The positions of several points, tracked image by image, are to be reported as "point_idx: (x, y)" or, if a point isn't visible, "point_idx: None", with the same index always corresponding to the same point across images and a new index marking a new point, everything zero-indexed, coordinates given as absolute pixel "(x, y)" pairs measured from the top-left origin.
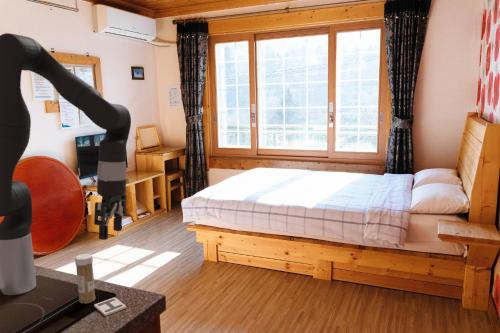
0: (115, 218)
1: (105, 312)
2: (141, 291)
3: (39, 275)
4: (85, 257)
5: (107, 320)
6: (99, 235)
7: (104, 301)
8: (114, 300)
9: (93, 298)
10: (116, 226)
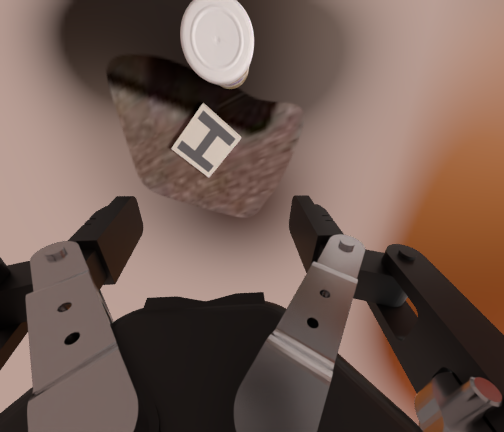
0: (314, 246)
1: (177, 146)
2: (278, 181)
3: None
4: (205, 58)
5: (160, 158)
6: (95, 215)
7: (219, 122)
8: (227, 143)
9: (225, 87)
10: (296, 221)
